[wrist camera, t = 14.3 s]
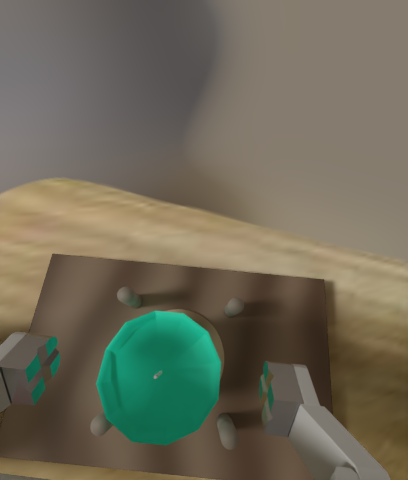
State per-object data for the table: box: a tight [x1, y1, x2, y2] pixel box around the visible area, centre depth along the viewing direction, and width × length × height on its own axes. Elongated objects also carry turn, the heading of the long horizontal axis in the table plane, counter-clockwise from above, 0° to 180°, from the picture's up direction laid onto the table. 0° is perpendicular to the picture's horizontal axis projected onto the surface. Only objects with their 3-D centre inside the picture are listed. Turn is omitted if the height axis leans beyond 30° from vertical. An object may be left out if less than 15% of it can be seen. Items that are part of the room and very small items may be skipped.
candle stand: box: [0, 254, 333, 480], centre depth 22 cm, size 26×16×6 cm, turn 85°
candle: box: [96, 311, 221, 445], centre depth 17 cm, size 6×6×12 cm
